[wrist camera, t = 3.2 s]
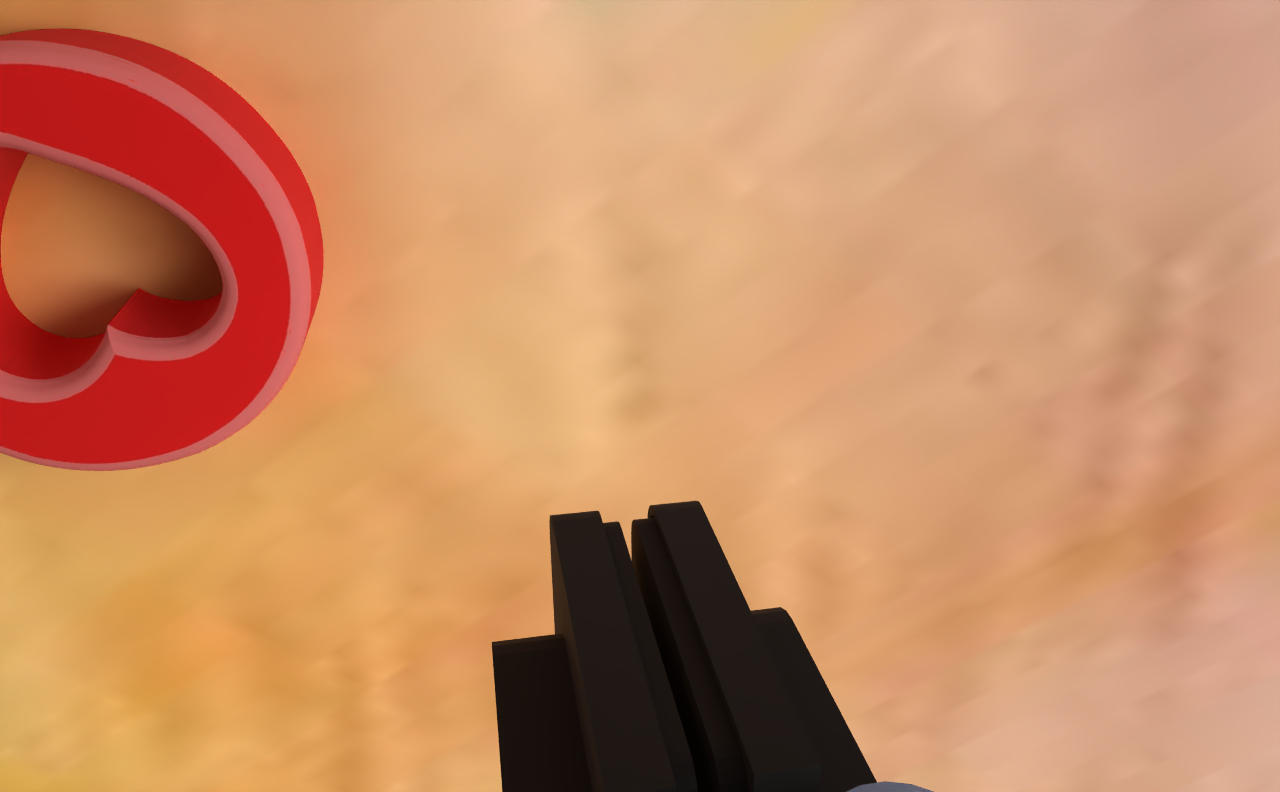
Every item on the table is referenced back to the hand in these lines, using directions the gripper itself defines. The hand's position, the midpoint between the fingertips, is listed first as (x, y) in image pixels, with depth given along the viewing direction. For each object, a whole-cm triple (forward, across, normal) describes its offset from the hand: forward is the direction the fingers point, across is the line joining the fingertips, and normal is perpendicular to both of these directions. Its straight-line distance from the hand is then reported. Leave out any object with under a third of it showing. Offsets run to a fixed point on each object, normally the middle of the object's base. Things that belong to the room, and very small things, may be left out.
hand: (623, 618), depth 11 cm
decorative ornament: (+16, +10, 0) cm, 19 cm away
